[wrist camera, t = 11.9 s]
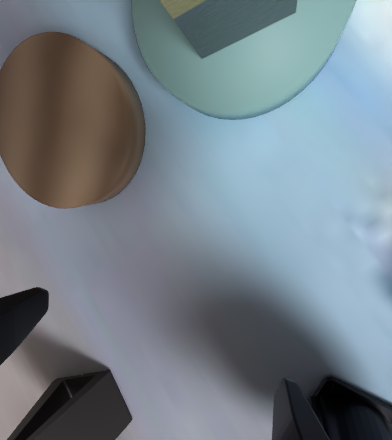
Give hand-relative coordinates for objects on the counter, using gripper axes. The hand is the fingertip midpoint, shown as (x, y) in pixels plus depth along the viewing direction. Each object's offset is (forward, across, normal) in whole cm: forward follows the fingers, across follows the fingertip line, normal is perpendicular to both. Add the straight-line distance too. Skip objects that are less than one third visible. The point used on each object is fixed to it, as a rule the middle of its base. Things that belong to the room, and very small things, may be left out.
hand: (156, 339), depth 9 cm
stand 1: (+14, +14, -4) cm, 20 cm away
